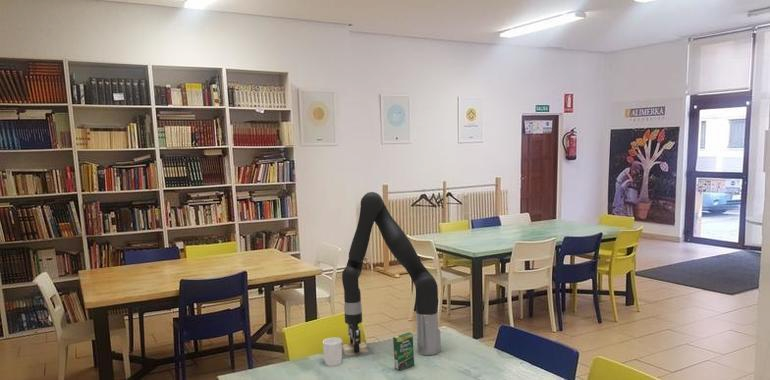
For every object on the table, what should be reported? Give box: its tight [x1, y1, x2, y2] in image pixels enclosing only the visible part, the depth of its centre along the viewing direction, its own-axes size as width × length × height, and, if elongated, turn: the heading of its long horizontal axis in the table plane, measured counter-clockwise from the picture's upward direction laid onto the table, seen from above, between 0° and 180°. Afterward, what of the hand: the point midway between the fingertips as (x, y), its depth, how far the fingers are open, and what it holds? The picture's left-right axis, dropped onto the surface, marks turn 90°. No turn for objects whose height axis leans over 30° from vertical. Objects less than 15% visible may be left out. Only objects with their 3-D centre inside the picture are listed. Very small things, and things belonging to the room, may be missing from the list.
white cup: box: [322, 337, 343, 367], centre depth 199 cm, size 8×8×10 cm
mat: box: [342, 343, 375, 360], centre depth 210 cm, size 14×12×1 cm
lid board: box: [342, 341, 369, 356], centre depth 210 cm, size 10×6×2 cm, turn 107°
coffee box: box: [392, 332, 415, 372], centre depth 193 cm, size 8×3×13 cm, turn 122°
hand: (354, 349), depth 210 cm, fingers closed on lid board, 6 cm apart
